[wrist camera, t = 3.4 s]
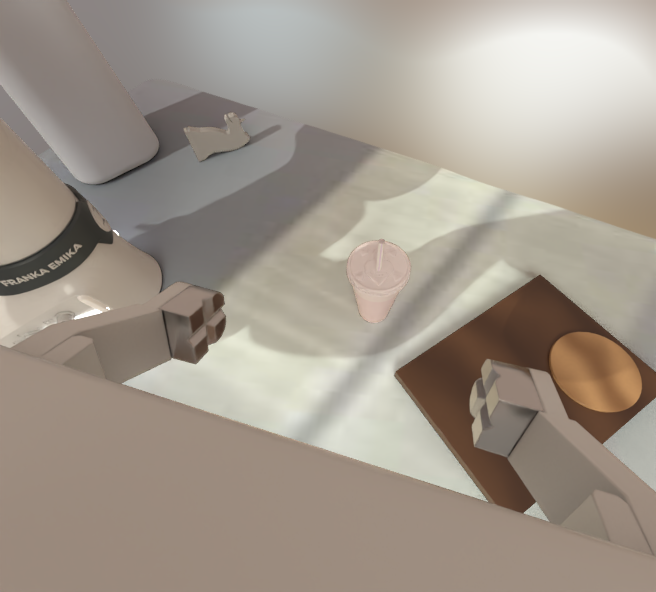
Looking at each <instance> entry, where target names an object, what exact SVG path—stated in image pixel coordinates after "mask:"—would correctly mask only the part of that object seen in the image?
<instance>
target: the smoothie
mask: <svg viewBox="0 0 656 592" xmlns="http://www.w3.org/2000/svg"><path fill="white" fill-rule="evenodd" d="M346 270H347V277H348V279H349V281H350V283H351V284H352V286H353V289H354V293H355V297H356V301H357V306H358V310H359V313H360V315H361V317H362V318H363V319H364V320H366V321H368V322H371V323H377V322H380V321H382V320H384V319H385V318H386V317H387V315H388V313H389V311H390V309H391V307H392V305H393V303H394V301H395V299H396V297H397V295H398V293H399V291H400V290H402V289H403V287H404V286H405V285H406V284H407V282H408V280H409V277H410V270H411V265H410V260H409V258H408V256H407V254H406V253H405V252H404V251H403V250H402V249H401V248H400V247H399V246H397V245H395V244H393V243H390V242H387V241H385V240H384V239H380V240H376V241H369V242H366V243H363V244H361V245H359V246H358V247H356V248H355V249H354V250H353V251H352V252H351V254H350V256H349V258H348V261H347V269H346Z"/></svg>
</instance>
